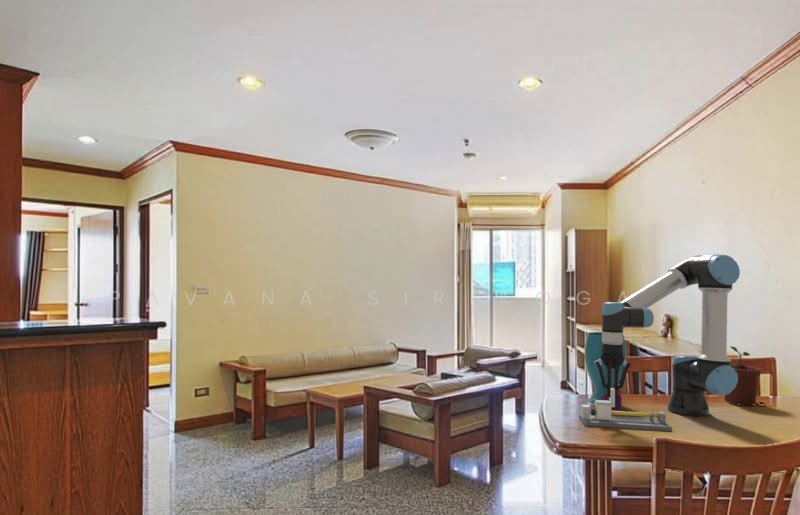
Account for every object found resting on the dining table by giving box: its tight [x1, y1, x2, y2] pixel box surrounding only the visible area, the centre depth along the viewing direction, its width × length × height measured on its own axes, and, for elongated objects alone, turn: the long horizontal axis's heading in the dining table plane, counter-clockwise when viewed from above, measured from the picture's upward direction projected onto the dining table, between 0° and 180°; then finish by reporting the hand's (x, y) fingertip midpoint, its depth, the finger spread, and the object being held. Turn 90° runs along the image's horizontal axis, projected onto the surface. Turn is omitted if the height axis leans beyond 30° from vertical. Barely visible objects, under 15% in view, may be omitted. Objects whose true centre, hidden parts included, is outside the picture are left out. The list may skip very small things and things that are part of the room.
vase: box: [583, 331, 627, 406], centre depth 240 cm, size 17×17×30 cm
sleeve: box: [594, 400, 612, 420], centre depth 204 cm, size 5×5×6 cm
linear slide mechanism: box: [578, 404, 673, 432], centre depth 203 cm, size 30×12×6 cm, turn 81°
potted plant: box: [724, 345, 766, 406], centre depth 246 cm, size 18×22×25 cm
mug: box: [600, 393, 622, 411], centre depth 222 cm, size 7×10×7 cm
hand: (611, 406), depth 204 cm, fingers closed
